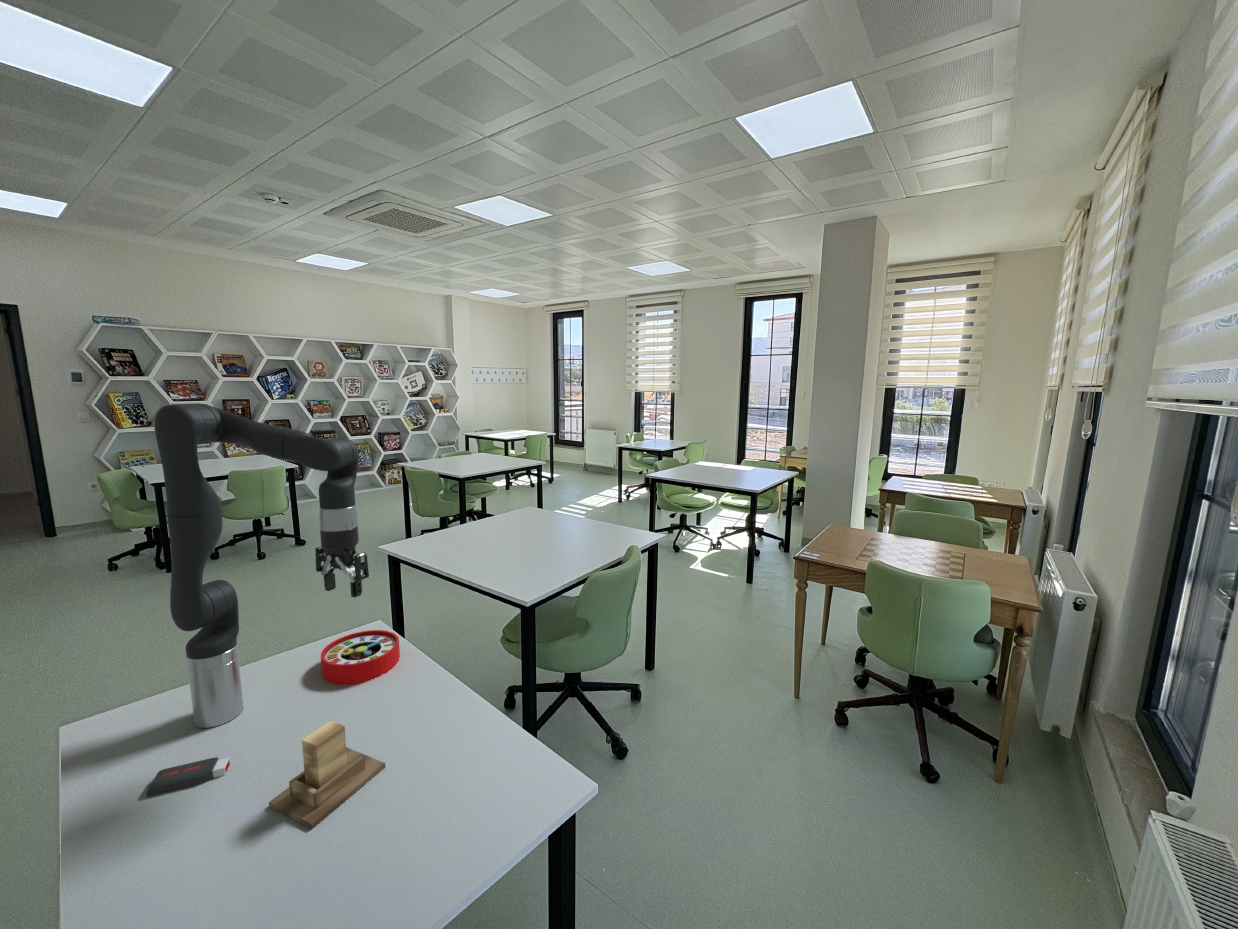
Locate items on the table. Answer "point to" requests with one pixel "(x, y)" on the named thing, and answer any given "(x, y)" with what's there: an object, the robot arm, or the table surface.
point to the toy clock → (360, 657)
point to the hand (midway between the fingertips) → (343, 593)
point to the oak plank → (324, 754)
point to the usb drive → (188, 775)
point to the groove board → (326, 790)
